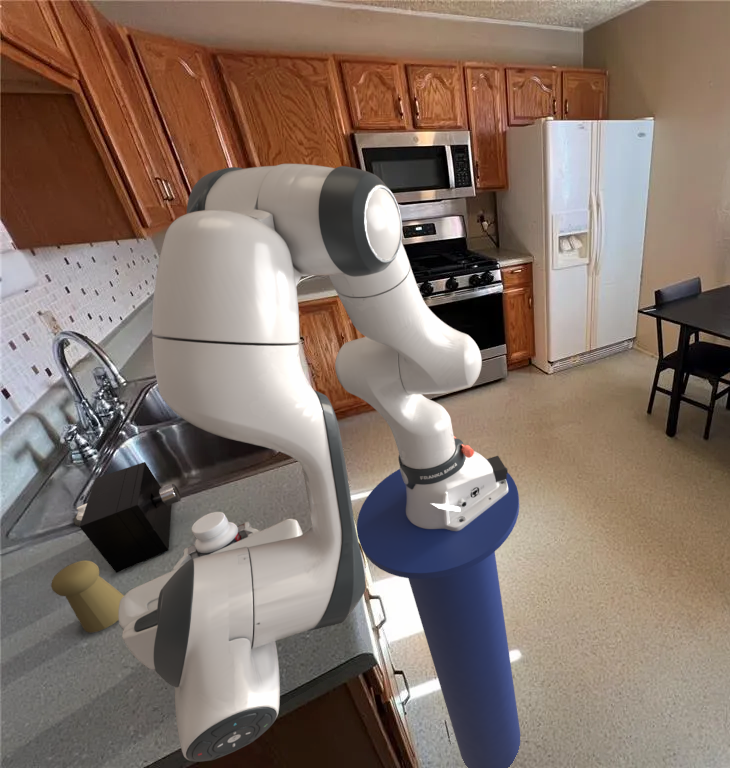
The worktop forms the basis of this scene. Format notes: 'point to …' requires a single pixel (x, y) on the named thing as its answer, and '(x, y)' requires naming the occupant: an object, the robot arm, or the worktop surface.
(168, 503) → the push knob
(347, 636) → the worktop surface
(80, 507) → the stove knob
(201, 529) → the pill bottle
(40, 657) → the worktop surface
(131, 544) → the control block
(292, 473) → the worktop surface
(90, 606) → the cork
